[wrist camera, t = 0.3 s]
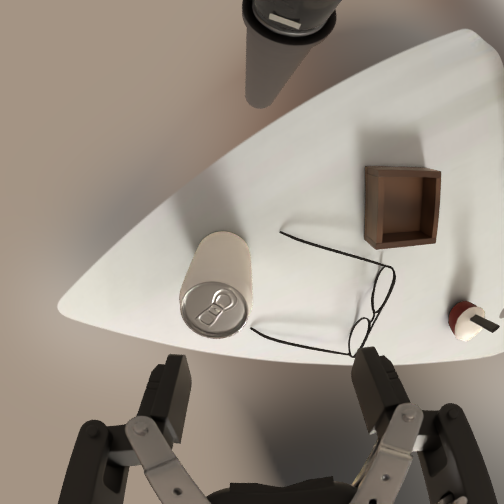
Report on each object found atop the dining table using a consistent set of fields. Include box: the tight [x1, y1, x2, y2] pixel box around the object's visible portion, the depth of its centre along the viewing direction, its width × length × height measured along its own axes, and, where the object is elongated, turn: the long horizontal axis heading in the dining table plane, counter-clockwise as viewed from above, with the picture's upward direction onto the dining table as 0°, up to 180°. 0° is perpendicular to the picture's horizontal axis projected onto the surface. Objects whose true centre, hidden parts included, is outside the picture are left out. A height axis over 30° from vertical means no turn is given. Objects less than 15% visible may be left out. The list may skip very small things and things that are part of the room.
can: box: [179, 231, 253, 339], centre depth 28 cm, size 6×6×12 cm
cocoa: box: [448, 301, 500, 341], centre depth 33 cm, size 10×6×12 cm, turn 8°
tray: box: [364, 166, 441, 250], centre depth 30 cm, size 9×9×4 cm
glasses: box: [250, 231, 396, 358], centre depth 35 cm, size 14×15×5 cm
